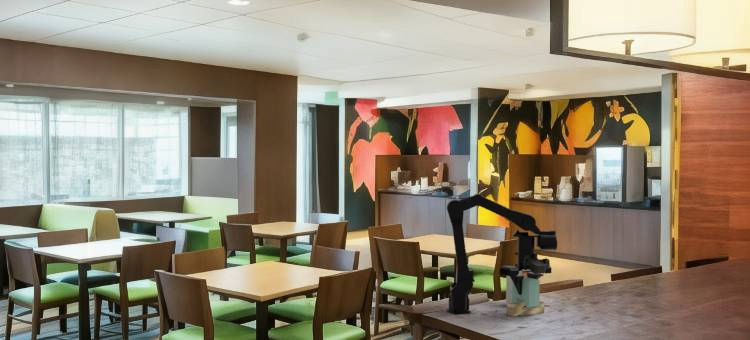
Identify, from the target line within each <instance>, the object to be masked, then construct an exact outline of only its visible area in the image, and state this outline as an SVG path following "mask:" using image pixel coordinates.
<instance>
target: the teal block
mask: <svg viewBox="0 0 750 340" xmlns="http://www.w3.org/2000/svg"><path fill="white" fill-rule="evenodd" d="M539 300H540V279H538V280H537V279H533V278H529V277H524V278H523V280H522V294H521V295H519V294H518V292H517V290H516V287H515V285H514V283H512V302H517V303H525V306H526V307H536V306H539Z"/></svg>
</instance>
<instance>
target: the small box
mask: <svg viewBox="0 0 750 340" xmlns="http://www.w3.org/2000/svg"><path fill="white" fill-rule="evenodd" d="M527 273H529V272H523V273H522V276H525V277H527ZM505 277H506V278H505V280H506V281H505V282H506V284H505V285H506V286H505V287H506V288H505V305H506V306H507V303H513V302H512V283H513V281H512V279H511V278H510V276H506V275H505ZM521 304H522V307H524V306H525V303H521Z"/></svg>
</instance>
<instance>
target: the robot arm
mask: <svg viewBox="0 0 750 340" xmlns="http://www.w3.org/2000/svg"><path fill="white" fill-rule="evenodd" d="M475 207H481V208H482V209H486V210H487V211H490V212H491V213H494V214H496V215H498V216H501V217H503V218H504V219H507V220H508V221H510V222H511V223H512V224H514V225H515V226H517V227H518V228H520V229H521V230H523V231H519V229H515V231H514V232H513V233H512V234H511V236H512V237H513V238H517V251H515V252H514V253H515V256H517V263H514V264H515V265H501V266H500V268H499V274H500V275H503V276H505V277H506V276H510V278H511V279H512V281H513V283H514V285H515V287H516V290H517V292H518V294H519V295H521V294H522V280H523V278H524V277H525V276H522V273H523V272H529V273H527V277H529V278H533V279H537V280H540V278H541V277H544V275H547V274H552V269H553V268H552V266H551V263H550V259H549V258H541V259H539V258H538V253H536V252H535V247H536V248H538V250H540V251H557V249H558V240H557V239H558V238H557V234H556V233H557V231H556V230H541V229H540V228H539V227H538V226H537V224H536V223H537V220H536V218H535V217H534V216H533V215H531V214H529V213H526V212H522V211H519V210H515V209H511V208H509V207H506V206H505V205H502V204H500V203H498V202H496V201H494V200H492V199H489V198H487V197H486V196H483V195H482V194H480V193H475V194H473V195H471V196H467V197H464V198H462V199H459V200H458V199H456V198H455V199H450V200H448V203H446V210H447V214H448V217H449V220H450V223H451V229H452V235H453V243H454V250H455V251H454V252H455V258H456V270H455V272H456V274H455V281H454V282H453V283H452V284H451V285H450V286H449V289H450V293H449V294H448V308H447V309H446V311H447V312H449V313H451V314H455V315H460V314H461V315H463V314H468V313H471V312H472V311H471V310H470V297H469V294H468V292H469V291H471V290H472V289H473V286H474V283H475V282H476V281H475V278H474V269H473V267H470V268H469V265H468V259H467V250H466V243H465V234H464V226H463V224H464V212H465V211H468V210H471V209H473V208H475ZM529 231H530V232H531V233H532V234H529Z"/></svg>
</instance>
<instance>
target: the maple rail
mask: <svg viewBox="0 0 750 340" xmlns="http://www.w3.org/2000/svg"><path fill="white" fill-rule="evenodd" d="M544 313H545V300H540V299H539V306H536V307H522V304H521V303H517V302H513V303H507V305H506V315H507V314H508V315H507V316H509V315H511V316H510V317H519V316H518V315H521V316H528V315H536V314H544Z"/></svg>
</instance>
